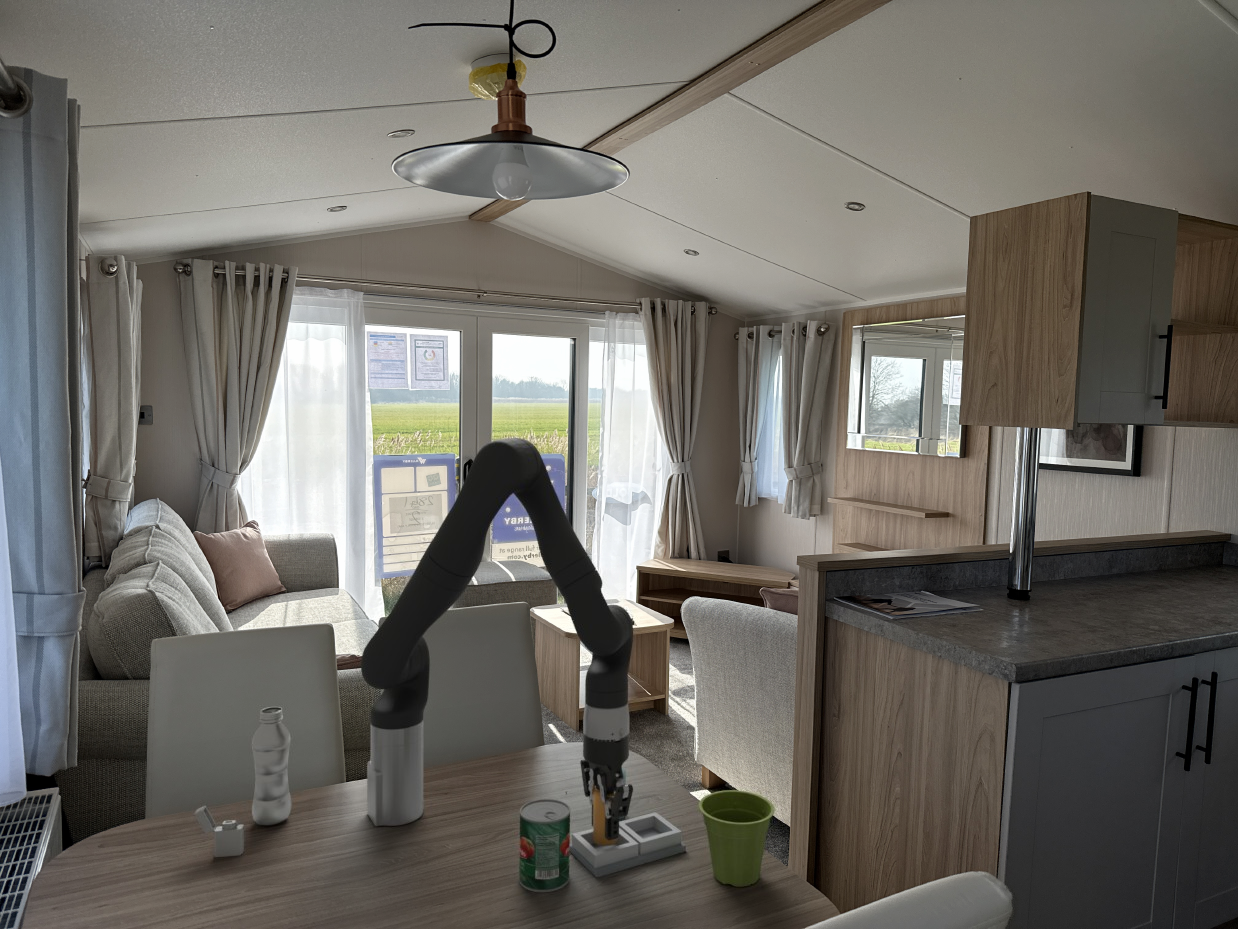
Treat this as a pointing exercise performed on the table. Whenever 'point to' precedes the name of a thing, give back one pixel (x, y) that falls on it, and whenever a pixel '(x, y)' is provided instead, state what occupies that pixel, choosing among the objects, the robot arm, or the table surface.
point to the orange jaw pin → (600, 820)
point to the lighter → (222, 834)
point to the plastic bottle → (271, 768)
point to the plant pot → (736, 834)
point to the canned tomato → (544, 845)
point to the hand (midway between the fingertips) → (605, 832)
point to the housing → (628, 845)
